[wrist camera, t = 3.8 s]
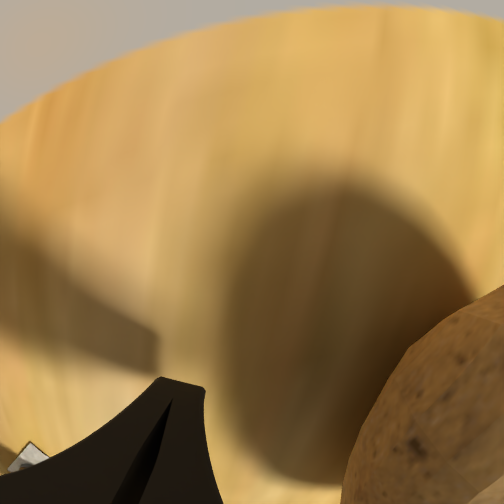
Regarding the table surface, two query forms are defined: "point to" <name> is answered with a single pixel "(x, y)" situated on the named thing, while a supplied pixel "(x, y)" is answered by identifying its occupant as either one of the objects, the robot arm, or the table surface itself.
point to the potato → (438, 418)
